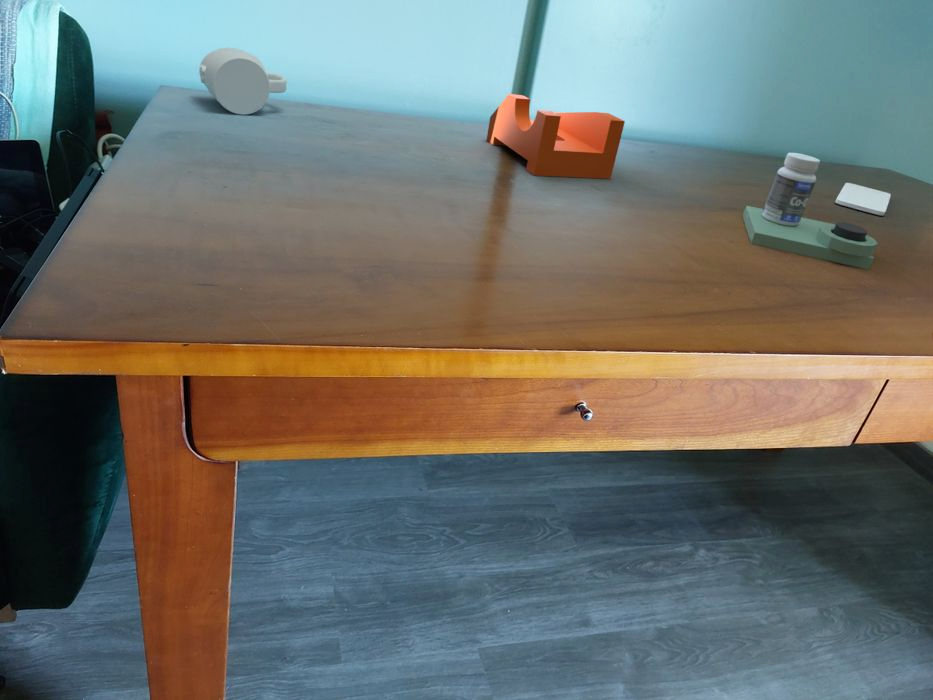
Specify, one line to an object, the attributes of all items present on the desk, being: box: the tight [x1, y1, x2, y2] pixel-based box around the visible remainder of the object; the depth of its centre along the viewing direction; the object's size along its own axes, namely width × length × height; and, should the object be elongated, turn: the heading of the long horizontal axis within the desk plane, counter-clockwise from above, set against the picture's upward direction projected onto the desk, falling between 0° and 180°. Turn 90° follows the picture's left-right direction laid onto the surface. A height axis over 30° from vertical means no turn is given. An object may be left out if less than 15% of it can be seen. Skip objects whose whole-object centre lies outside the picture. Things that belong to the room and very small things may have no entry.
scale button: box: [832, 221, 868, 242], centre depth 89 cm, size 4×4×1 cm
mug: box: [198, 47, 287, 116], centre depth 110 cm, size 12×9×8 cm
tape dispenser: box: [486, 93, 626, 180], centre depth 110 cm, size 18×13×8 cm
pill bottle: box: [762, 152, 821, 226], centre depth 93 cm, size 5×5×8 cm
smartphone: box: [835, 182, 892, 216], centre depth 118 cm, size 7×1×15 cm
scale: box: [742, 205, 878, 270], centre depth 93 cm, size 14×13×3 cm
